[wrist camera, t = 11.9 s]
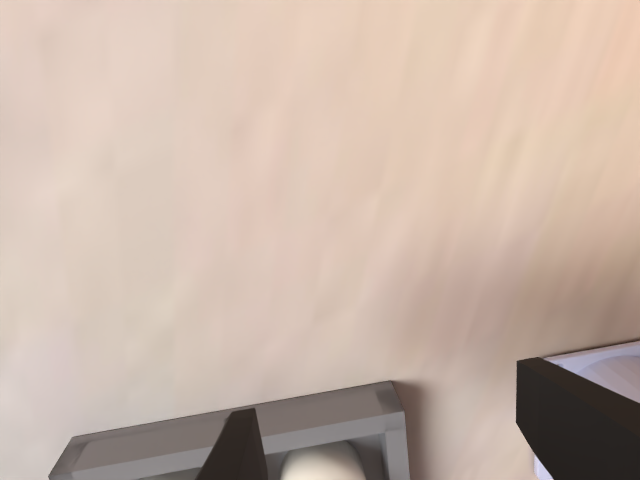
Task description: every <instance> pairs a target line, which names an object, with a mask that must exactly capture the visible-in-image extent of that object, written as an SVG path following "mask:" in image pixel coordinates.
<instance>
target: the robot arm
mask: <svg viewBox="0 0 640 480" xmlns="http://www.w3.org/2000/svg"><path fill="white" fill-rule="evenodd" d="M557 364H558V365H557ZM516 423H517V425H518V427H519V428H520V430H521V432H522V434H523V435H524V437H525V439H526V440H527V442H528V444H529V445H530V447H531V449H532V450H533V452H534V453H535V460H534V472H535V475H536V476H537V477H538V478H539V480H550V479H554V480H640V341H636V342H631V343H625V344H620V345H614V346H609V347H603V348H597V349H592V350H586V351H581V352H575V353H569V354H564V355H558V356H553V357H547V358H544V359H542V358H539V357H535V358H530V359H524V360H519V361H517V392H516ZM195 480H268V469H267V464H266V459H265V454H264V449H263V444H262V439H261V434H260V429H259V424H258V419H257V414H256V409H255V408H249V409H244V410H238V411H233V412H231V414H230V415H229V416H228V418H227V420H226V422H225V424H224V427H223V429H222V431H221V433H220V435H219V437H218V439H217V440H216V442H215V444H214V446H213V448H212V450H211V452H210V454H209V455H208V457H207V459H206V461H205V462H204V464H203V466H202V468H201V469H200V471H199V473H198V475H197V476H196V478H195Z"/></svg>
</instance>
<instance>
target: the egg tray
mask: <svg viewBox="0 0 640 480" xmlns="http://www.w3.org/2000/svg"><path fill="white" fill-rule="evenodd" d="M249 408H255V409H256V414H257V419H258V424H259V429H260V434H261V439H262V444H263V449H264V454H265V459H266V464H267V469H268V480H280V479H279V471H280V465H281V463H282V460H283V458H284V457H285V455H286V454H287V452H288V451H289V450H293V449H299V448H304V447H310V446H315V445H320V444H326V443H331V442H336V441H342V440H345V441H347V442H348V443H350V444H351V445H352V446H353V447H354V448H355V449H356V450H357V452H358V453H359V455H360V458H361V462H362V465H363V469H364V473H365V477H366V480H410V475H409V462H408V450H407V437H406V425H405V412H404V409H403V407H402V405H401V402H400V400H399V398H398V396H397V394H396V391H395V389H394V387H393V385H392V382H391V381H386V382H380V383H375V384H369V385H363V386H358V387H352V388H347V389H341V390H335V391H330V392H324V393H318V394H313V395H307V396H302V397H296V398H290V399H285V400H279V401H274V402H268V403H262V404H257V405H251V406H245V407H240V408H234V409H229V410H223V411H217V412H212V413H206V414H200V415H195V416H189V417H184V418H178V419H172V420H167V421H161V422H155V423H150V424H144V425H139V426H133V427H127V428H122V429H116V430H111V431H105V432H99V433H94V434H88V435H82V436H77V437H72V438H71V440H70V442H69V443H68V445H67V447H66V448H65V450H64V451H63V453H62V455H61V456H60V458H59V460H58V461H57V463H56V464H55V466H54V468H53V469H52V471H51V473H50V474H49V476H48V477H49V480H139V479H140V478H143V477H149V476H154V475H159V474H165V473H170V472H175V471H181V470H186V469H191V468H197V467H198V468H200V469H201V468H202V466H203V464H204V462H205V461H206V459H207V457H208V455H209V454H210V452H211V450H212V448H213V446H214V444H215V442H216V440H217V439H218V437H219V435H220V433H221V431H222V429H223V427H224V424H225V422H226V420H227V418H228V416H229V415H230V414H231V412H233V411H238V410H244V409H249Z"/></svg>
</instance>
